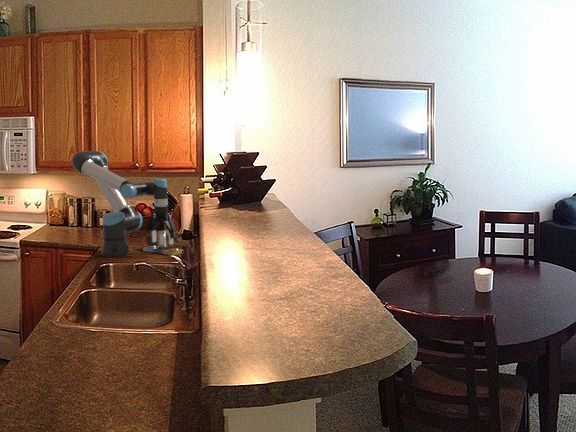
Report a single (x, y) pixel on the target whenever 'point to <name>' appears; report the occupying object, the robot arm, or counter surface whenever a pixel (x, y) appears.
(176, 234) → the bread
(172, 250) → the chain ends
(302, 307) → the counter surface
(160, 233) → the pin
